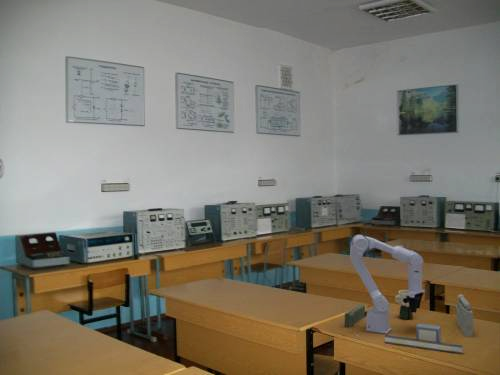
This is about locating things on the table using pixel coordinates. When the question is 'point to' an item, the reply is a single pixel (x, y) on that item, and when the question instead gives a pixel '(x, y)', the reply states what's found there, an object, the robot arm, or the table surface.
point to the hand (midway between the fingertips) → (415, 310)
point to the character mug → (404, 304)
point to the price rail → (424, 344)
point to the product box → (428, 332)
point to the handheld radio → (355, 315)
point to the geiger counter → (464, 316)
